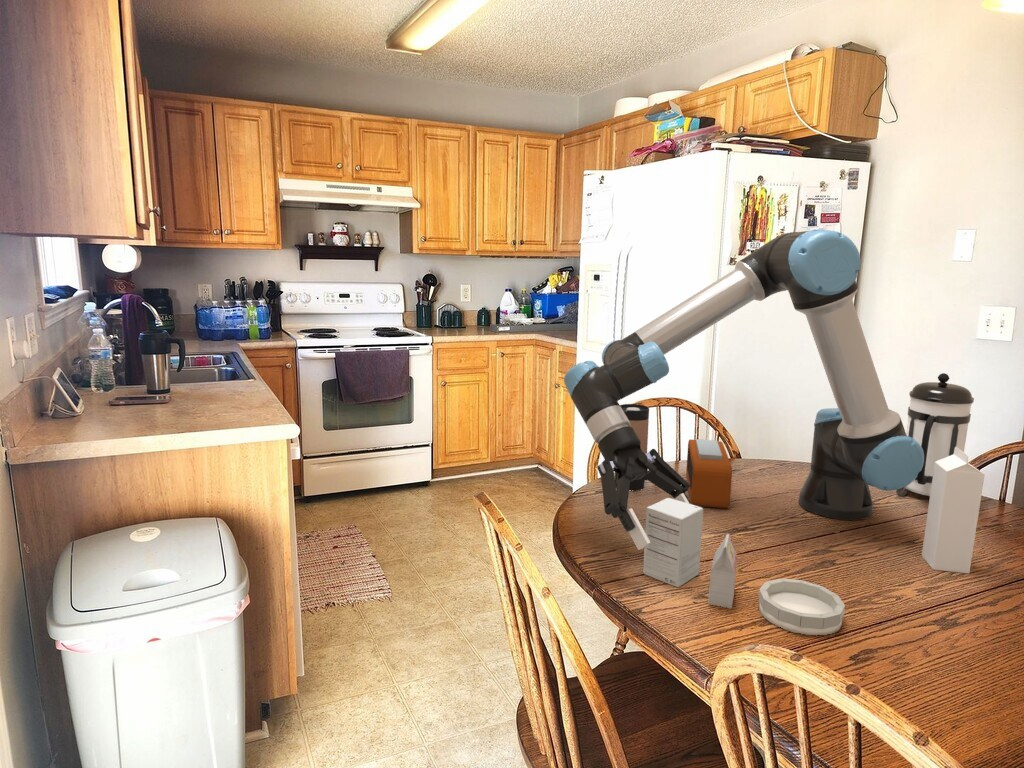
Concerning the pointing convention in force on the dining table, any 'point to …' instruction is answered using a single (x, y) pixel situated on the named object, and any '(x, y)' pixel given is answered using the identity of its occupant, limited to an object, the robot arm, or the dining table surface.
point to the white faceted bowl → (801, 606)
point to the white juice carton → (723, 575)
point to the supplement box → (673, 541)
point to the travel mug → (639, 423)
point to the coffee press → (937, 425)
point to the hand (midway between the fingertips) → (671, 537)
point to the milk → (952, 514)
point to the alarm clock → (708, 473)
